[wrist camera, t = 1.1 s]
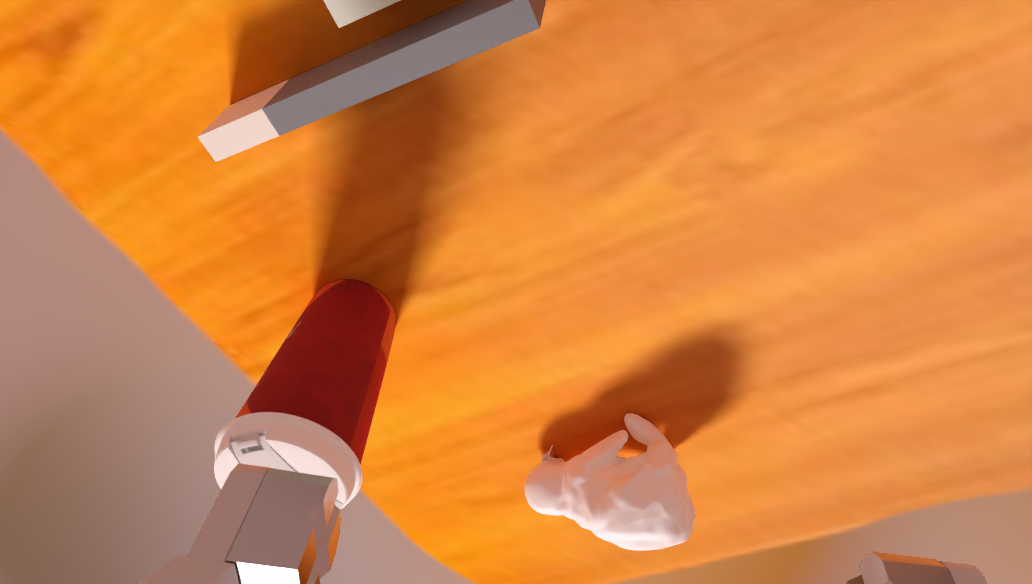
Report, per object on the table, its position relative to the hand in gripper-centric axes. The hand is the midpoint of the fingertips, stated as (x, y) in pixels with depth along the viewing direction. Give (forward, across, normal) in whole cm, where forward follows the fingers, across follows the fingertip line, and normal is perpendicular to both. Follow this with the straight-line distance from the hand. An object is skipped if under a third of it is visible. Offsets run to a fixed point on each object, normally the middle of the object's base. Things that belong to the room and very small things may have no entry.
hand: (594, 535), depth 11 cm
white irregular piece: (+30, -5, +31) cm, 44 cm away
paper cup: (+30, +13, +22) cm, 39 cm away
